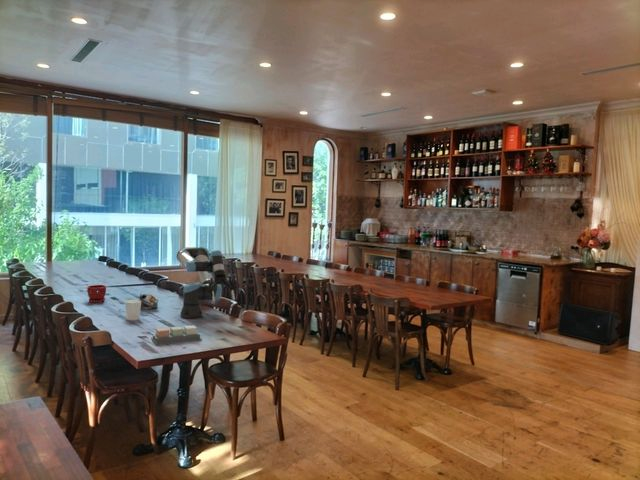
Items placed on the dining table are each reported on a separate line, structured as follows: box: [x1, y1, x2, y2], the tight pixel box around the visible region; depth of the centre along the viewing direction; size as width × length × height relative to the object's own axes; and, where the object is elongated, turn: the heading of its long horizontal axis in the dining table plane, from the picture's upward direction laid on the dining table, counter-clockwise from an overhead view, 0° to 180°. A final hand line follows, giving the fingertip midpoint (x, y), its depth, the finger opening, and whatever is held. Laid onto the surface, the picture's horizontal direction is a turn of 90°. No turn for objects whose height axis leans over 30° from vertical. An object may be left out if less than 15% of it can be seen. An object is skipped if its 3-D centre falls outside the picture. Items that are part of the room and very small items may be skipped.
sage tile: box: [169, 326, 184, 336], centre depth 284 cm, size 6×6×4 cm
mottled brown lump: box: [138, 293, 159, 310], centre depth 361 cm, size 15×12×14 cm
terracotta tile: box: [155, 327, 170, 338], centre depth 280 cm, size 6×6×4 cm
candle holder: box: [125, 299, 142, 321], centre depth 328 cm, size 10×10×12 cm
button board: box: [151, 331, 202, 346], centre depth 285 cm, size 12×26×3 cm, turn 121°
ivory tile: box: [183, 325, 198, 335], centre depth 289 cm, size 6×6×4 cm
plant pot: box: [86, 284, 107, 303], centre depth 376 cm, size 13×13×12 cm
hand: (224, 300), depth 323 cm, fingers open, 13 cm apart
